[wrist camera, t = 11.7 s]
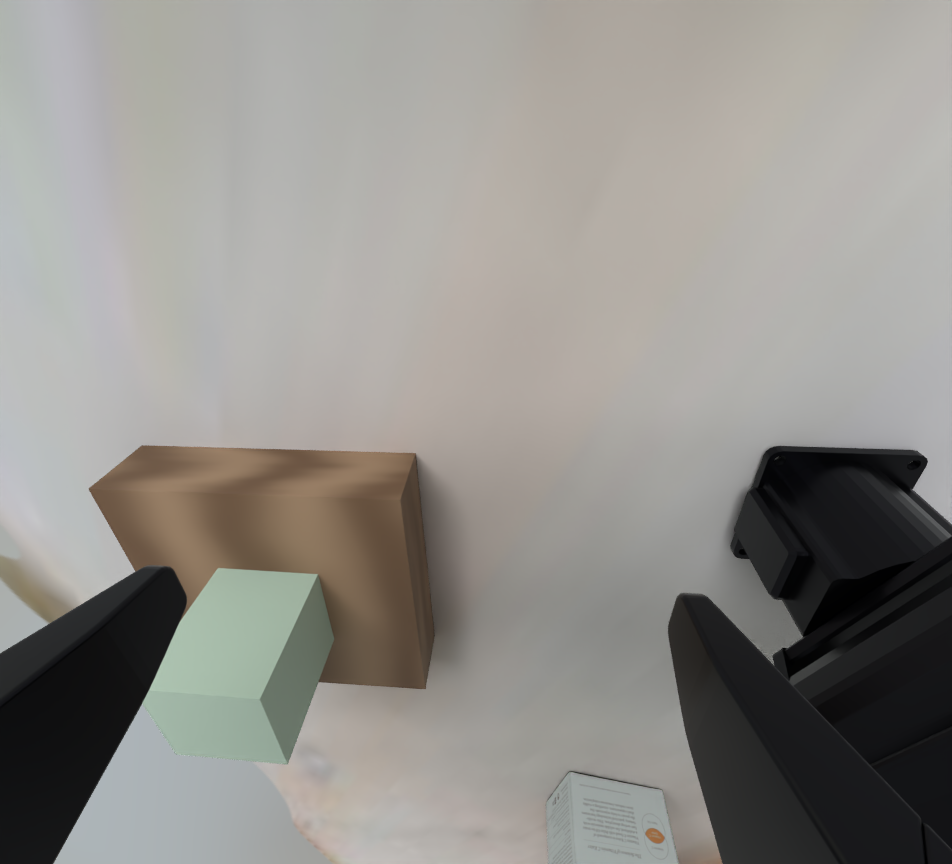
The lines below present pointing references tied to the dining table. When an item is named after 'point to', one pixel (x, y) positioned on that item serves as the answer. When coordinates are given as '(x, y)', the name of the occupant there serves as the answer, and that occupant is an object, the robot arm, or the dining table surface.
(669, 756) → the dining table surface
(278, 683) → the green cube
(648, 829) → the small box
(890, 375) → the dining table surface
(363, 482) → the walnut base
